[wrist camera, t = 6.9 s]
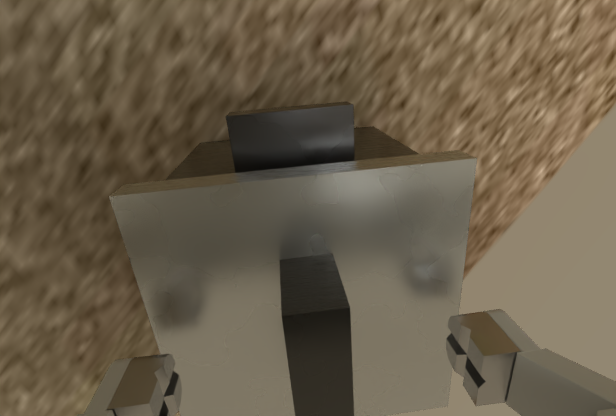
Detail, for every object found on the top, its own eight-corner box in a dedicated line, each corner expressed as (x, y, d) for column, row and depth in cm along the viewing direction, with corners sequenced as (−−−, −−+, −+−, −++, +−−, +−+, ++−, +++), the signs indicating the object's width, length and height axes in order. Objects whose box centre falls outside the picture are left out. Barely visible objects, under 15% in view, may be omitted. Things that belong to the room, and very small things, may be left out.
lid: (124, 184, 10) (51, 241, 7) (458, 150, 10) (542, 187, 7) (195, 419, 14) (172, 526, 10) (436, 384, 14) (484, 476, 11)
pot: (191, 102, 17) (127, 130, 9) (372, 86, 17) (447, 100, 10) (234, 314, 22) (215, 441, 14) (373, 296, 22) (423, 410, 15)
